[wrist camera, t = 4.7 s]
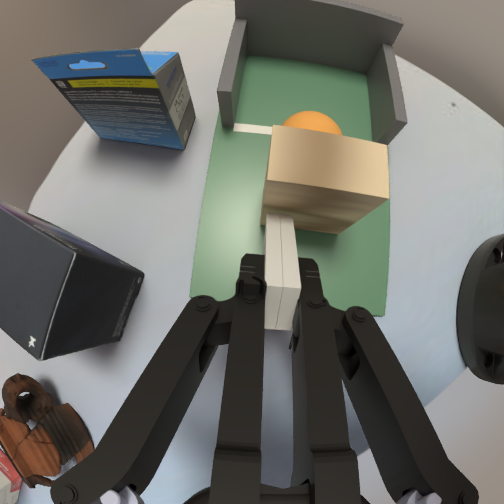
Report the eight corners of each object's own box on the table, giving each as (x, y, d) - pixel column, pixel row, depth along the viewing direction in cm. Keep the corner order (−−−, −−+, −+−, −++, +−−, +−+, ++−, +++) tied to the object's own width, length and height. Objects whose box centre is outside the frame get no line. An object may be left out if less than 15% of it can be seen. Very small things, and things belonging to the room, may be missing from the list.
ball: (331, 164, 25) (343, 109, 21) (341, 194, 21) (357, 129, 17) (273, 156, 25) (280, 99, 21) (271, 184, 21) (280, 116, 17)
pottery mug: (110, 477, 20) (49, 514, 13) (60, 434, 24) (6, 458, 17) (77, 377, 19) (-11, 411, 11) (31, 341, 23) (-36, 361, 16)
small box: (149, 268, 23) (80, 248, 12) (120, 343, 22) (42, 370, 11) (55, 221, 23) (-24, 186, 13) (31, 287, 22) (-53, 278, 12)
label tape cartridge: (198, 114, 24) (171, 6, 12) (184, 152, 24) (142, 49, 12) (113, 105, 25) (59, 20, 12) (97, 140, 24) (28, 60, 12)
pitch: (377, 73, 26) (406, 19, 17) (382, 315, 22) (442, 322, 14) (233, 50, 26) (230, -13, 17) (190, 296, 22) (158, 297, 14)
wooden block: (340, 197, 23) (386, 145, 14) (338, 234, 22) (389, 198, 14) (263, 186, 23) (272, 124, 14) (259, 224, 22) (267, 179, 14)
